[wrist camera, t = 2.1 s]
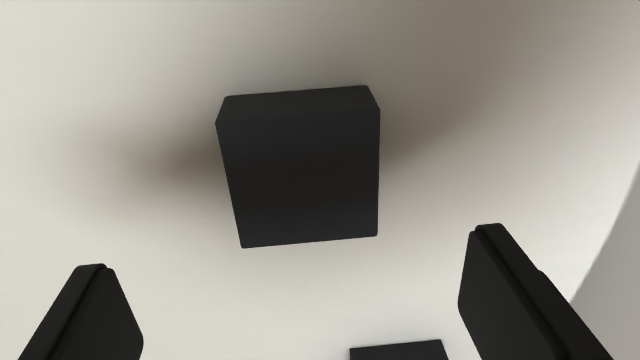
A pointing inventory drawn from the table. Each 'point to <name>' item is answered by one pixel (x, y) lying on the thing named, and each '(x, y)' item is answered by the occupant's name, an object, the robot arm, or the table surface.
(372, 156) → the middle pad
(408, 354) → the top pad
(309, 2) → the table surface
